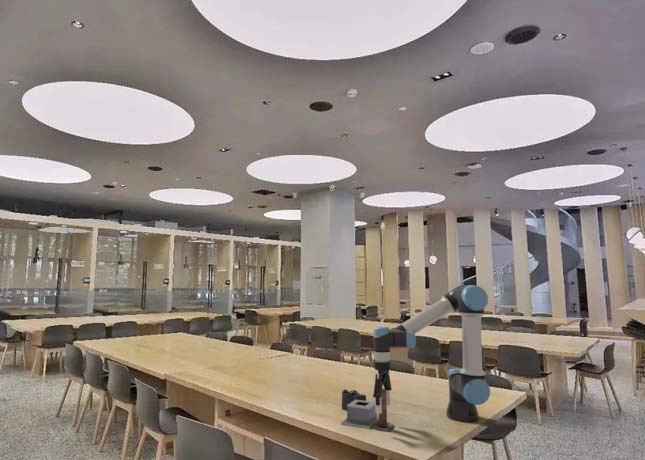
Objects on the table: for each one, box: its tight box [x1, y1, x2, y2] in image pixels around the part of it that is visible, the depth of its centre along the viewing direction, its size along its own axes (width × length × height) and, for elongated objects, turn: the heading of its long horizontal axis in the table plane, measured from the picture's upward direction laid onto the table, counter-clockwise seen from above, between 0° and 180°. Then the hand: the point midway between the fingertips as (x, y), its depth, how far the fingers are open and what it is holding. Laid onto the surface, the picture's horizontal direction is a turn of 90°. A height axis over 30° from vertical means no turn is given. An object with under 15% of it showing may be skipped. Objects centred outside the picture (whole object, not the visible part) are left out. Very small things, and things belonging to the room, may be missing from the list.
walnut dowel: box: [378, 388, 388, 428], centre depth 185 cm, size 4×4×16 cm
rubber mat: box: [371, 421, 395, 433], centre depth 184 cm, size 8×8×1 cm
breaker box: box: [341, 400, 379, 429], centre depth 194 cm, size 14×18×8 cm
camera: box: [341, 389, 367, 411], centre depth 212 cm, size 14×11×10 cm
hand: (382, 408), depth 185 cm, fingers open, 13 cm apart
